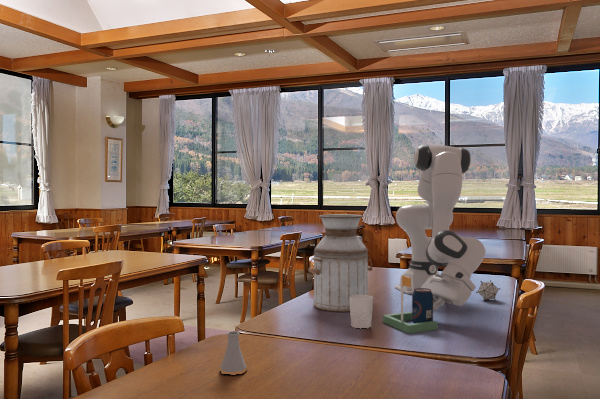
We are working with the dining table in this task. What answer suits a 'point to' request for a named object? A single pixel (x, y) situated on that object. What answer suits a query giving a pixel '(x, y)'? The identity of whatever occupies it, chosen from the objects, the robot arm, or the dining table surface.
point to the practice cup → (407, 316)
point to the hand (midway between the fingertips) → (431, 308)
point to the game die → (488, 290)
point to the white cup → (361, 310)
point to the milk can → (339, 264)
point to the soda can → (422, 305)
